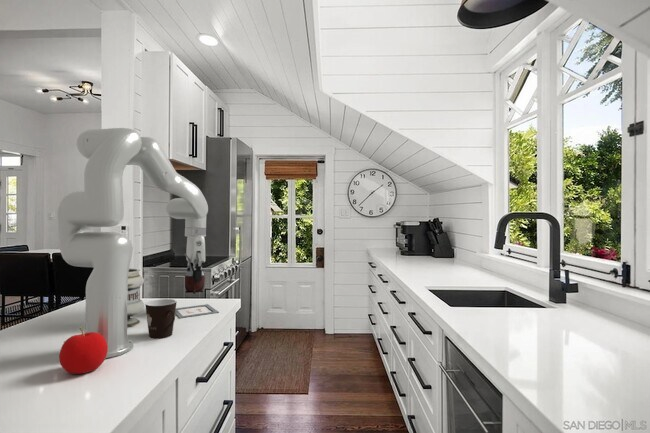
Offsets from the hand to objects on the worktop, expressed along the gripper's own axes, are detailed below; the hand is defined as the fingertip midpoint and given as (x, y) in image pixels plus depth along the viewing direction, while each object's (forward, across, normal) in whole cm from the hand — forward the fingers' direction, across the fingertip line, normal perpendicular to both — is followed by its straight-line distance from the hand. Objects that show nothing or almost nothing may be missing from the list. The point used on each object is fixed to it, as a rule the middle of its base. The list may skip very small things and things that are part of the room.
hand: (194, 279), depth 133 cm
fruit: (+14, -38, +34) cm, 53 cm away
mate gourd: (+5, 0, 0) cm, 5 cm away
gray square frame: (+12, +1, -1) cm, 12 cm away
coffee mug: (+13, -23, +15) cm, 31 cm away
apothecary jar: (+13, -3, +23) cm, 27 cm away
